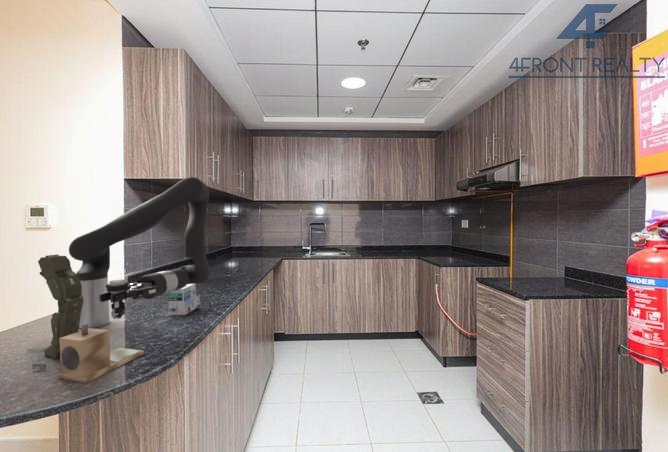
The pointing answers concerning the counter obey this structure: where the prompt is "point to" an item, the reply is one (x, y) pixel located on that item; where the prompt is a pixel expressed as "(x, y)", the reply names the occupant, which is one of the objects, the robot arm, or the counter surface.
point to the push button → (119, 306)
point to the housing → (90, 355)
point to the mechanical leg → (62, 298)
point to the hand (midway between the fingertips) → (106, 298)
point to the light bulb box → (182, 300)
